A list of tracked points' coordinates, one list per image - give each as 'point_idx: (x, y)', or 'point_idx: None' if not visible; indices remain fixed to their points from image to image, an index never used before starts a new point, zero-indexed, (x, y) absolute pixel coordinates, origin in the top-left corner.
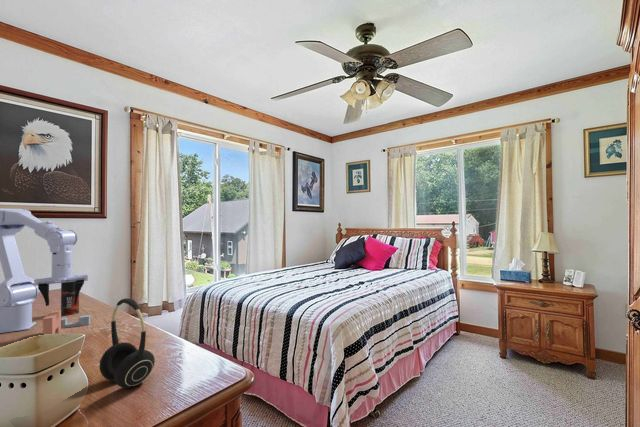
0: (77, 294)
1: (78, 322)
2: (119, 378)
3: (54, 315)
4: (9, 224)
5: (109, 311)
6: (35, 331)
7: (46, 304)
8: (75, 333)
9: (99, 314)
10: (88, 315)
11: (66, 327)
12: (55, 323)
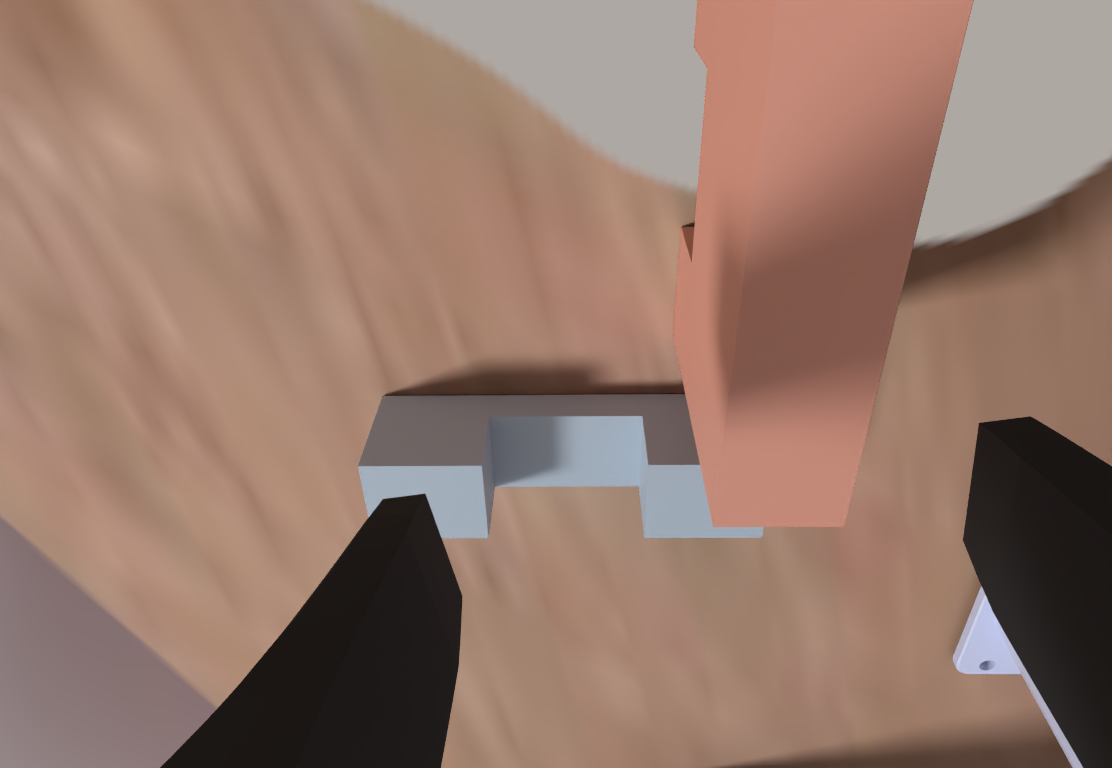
0: (286, 647)
1: (502, 447)
2: None
3: (771, 137)
4: None
5: None
6: (948, 400)
7: (1047, 437)
8: (428, 42)
9: None
10: None
11: (625, 395)
12: (722, 119)
